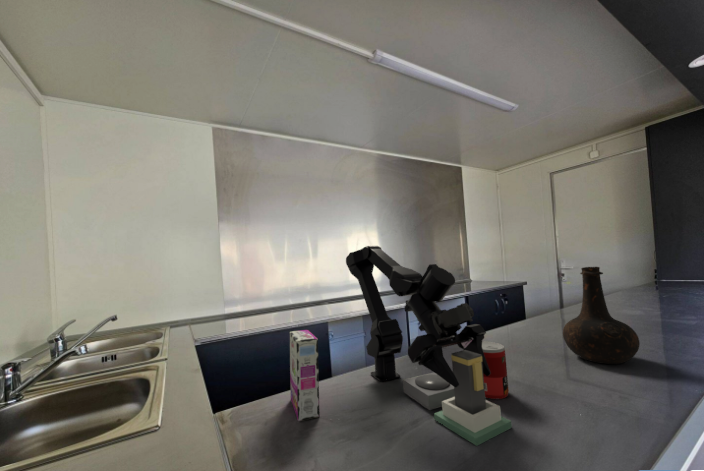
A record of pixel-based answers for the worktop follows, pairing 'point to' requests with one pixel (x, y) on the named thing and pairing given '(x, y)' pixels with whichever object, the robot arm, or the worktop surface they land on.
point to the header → (473, 421)
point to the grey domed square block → (428, 390)
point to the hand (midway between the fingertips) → (473, 380)
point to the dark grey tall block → (469, 381)
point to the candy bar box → (304, 374)
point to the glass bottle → (599, 327)
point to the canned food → (495, 371)
